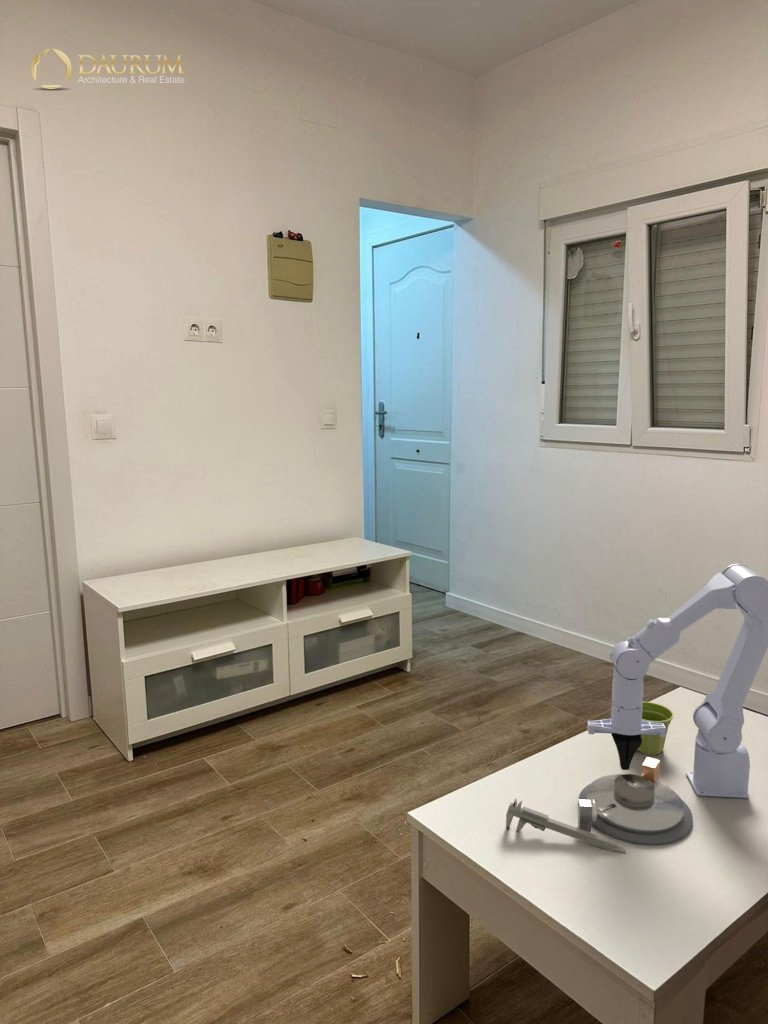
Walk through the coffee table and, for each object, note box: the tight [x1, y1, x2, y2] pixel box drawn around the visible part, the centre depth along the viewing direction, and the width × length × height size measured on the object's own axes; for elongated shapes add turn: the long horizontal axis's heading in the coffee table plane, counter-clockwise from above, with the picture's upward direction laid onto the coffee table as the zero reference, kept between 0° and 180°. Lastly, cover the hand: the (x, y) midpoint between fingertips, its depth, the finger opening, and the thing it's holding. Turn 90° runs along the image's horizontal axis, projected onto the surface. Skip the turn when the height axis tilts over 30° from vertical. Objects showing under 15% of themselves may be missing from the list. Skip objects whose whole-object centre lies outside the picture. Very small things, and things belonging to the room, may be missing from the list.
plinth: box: [577, 783, 694, 846], centre depth 135 cm, size 20×20×1 cm
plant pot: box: [636, 701, 675, 756], centre depth 157 cm, size 9×9×9 cm
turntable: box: [587, 756, 684, 834], centre depth 135 cm, size 17×20×4 cm
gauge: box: [577, 799, 597, 833], centre depth 129 cm, size 3×4×6 cm
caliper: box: [505, 798, 627, 854], centre depth 127 cm, size 20×1×6 cm, turn 70°
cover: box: [614, 773, 655, 810], centre depth 134 cm, size 7×7×3 cm
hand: (624, 767), depth 144 cm, fingers closed
